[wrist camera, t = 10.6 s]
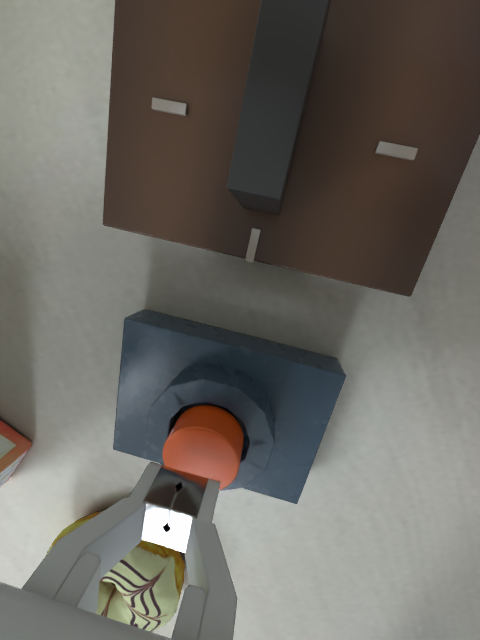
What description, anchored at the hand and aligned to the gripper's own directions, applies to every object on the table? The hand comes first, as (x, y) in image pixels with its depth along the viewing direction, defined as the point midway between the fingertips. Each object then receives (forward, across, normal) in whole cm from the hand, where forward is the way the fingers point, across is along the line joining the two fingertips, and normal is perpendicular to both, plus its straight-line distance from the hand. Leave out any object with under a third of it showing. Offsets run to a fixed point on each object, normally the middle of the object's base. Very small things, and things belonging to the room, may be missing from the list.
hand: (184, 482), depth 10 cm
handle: (+4, 0, +14) cm, 14 cm away
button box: (+7, 0, 0) cm, 7 cm away
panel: (+7, 0, +14) cm, 15 cm away
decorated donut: (+7, -5, -17) cm, 19 cm away
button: (+3, 0, 0) cm, 3 cm away
